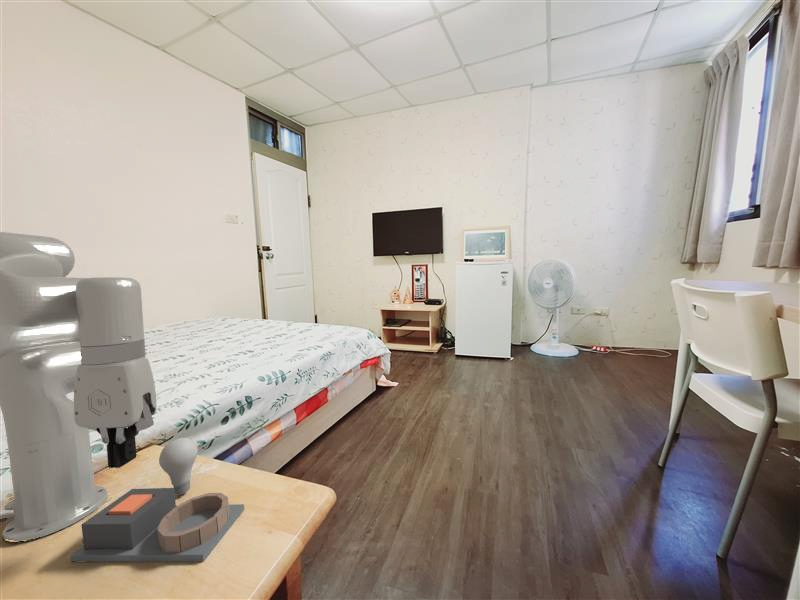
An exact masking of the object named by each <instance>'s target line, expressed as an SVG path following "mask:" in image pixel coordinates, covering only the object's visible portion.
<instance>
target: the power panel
mask: <svg viewBox="0 0 800 600" xmlns="http://www.w3.org/2000/svg"><path fill="white" fill-rule="evenodd" d="M144 494H152V498H151V499H150V500H149V501H148V502H146V503H145V504H144V505H142V506H141V507H140V508H139V509H137V510H136V511H135V512H133V513H132V514H131V515H109V513H108V511H110V510H111V509H112V508H114V507H115V506H117V505H118V504H119V503H121V502H122V501H124V500H125V499H126V498H128V497H129V496H131V495H144ZM244 511H245V505H244V504H243V503H242V504H239V503H238V504H237V503H235V504H229V497H228V496H226V495H225V494H224V493H222V492H208V493H203V494H200V495H197V496H195V497H191V498H188V499H187V500H185V501H183V502H181V503H180V504H178V505H177V503H176V494H175V492H174V487H158V488H157V487H154V488H153V487H152V488H151V487H149V488H131V489H130V490H128V491H127V492H125V493H124V494H122V495H121V496H120V497H119V498H117V499H116V500H114V501H112V502H111V503H110V504H109V505H107V506H106V507H104V508H103V509H101V510H100V511H99V512H97V513H95V514H94V515H93V516H91V517H90V518H88V519H87V520H86V521H84V522H82V523H81V525H80V526H81V531H82V543H83V545H82V546H81V547H80V548H78V549H77V550H76V551H75V552H73V553H72V554H71V555H70V562H71V561H77V562H76V563H80V562H79V561H94V562H93V563H107V562H108V563H121V562H122V563H123V562H124V563H129V562H130V563H131V562H135V563H137V562H139V563H141V562H146V563H147V562H153V563H154V562H156V563H157V562H204V561H206V559H207V558H208V556H209V555H210V554H211V552H212V551H214V549H215V548H216V546H217V545H218V544H219V543H220V541H221V540H222V539H223V537H224V536H225V535H226V533H228V531H229V530H230V529H231V527H232V526H233V525H234V524H235V522H236V521H237V520H238V518H239V517H240V516H241V515H242V513H243V512H244Z"/></svg>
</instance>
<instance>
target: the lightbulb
mask: <svg viewBox="0 0 800 600" xmlns="http://www.w3.org/2000/svg"><path fill="white" fill-rule="evenodd" d="M198 452H199V448H198V445H197V443H196V442H195V441H194V440H193V439H191V438H187V437H181V438H180V437H179V438H175V439H173V440H172V441H170V442H169V443H168V444H166V445H165V446H164V447H163V449H162V450H161V452H160V455H159V458H158V464H159V465H160V468H161V469H162V470H163V471H164V472H165V473H166V474H167V475H168V477H169V479H170V481H171V485H172V486H173V487H172V488H174V492H175V496H184V495H185V494H186V493H187V492H188V491H190V489H191V478H192V468H193V466H194V463H195V461H196V459H197V456H198Z"/></svg>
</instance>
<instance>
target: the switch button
mask: <svg viewBox="0 0 800 600" xmlns="http://www.w3.org/2000/svg"><path fill="white" fill-rule="evenodd" d="M151 498H152V494H144V495H131V496H129V497H128V498H126V499H125V500H124V501H122V502H121V503H119V504H118V505H117V506H115V507H114V508H112V509H111V510H110V511H108V513H109V515H131V514H132V513H133V512H135V511H136V510H137V509H139V508H140V507H141V506H142V505H144V504H145V503H146V502H148V501H149V500H150V499H151Z"/></svg>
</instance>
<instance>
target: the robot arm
mask: <svg viewBox="0 0 800 600" xmlns="http://www.w3.org/2000/svg"><path fill="white" fill-rule="evenodd" d="M75 259H76V258H75V254H74V252H73V250H72V248H71V247H70V246H69V245H68V244H67V243H66V242H65V241H63V240H61V239H59V238H54V237H52V236H51V237H49V236H43V235H32V234H24V233H14V232H7V231H4V232H3V231H0V411H1V413H2V418H3V422H4V427H5V433H6V434H5V437H6V442H7V443H6V444H7V450H8V455H9V457H8V459H9V465H10V472H11V473H10V474H11V481H12V490H13V499H14V500H12V501H9V502H7V503H6V504H5V505H4V508H3V509H4V510H5V511H13V517H14V518H13V519H12V520H11V521H10V522H9V523H7V524H6V526H5V527H4V529H3V531H2V533H1V535H2V538H3V537H4V538H5V539H8V540H14V541H23V540H29V539H33V540H36V538H37V539H39V537H40V538H42V537H45V536H48V535H51V534H53V533H57V532H58V531H60V530H63V529H65V528H68V527H70V526H71V525H73V524H75V523H77V522H79V521H80V520H82V519H84V518H86V517H87V516H89V515H91V514H92V513H94V512H95V511H96V510H97V509H98V508H100V506H102V505H103V504H104V502H105V501H106V500H107V499H108V498H107V497H108V491H107V489H106V488H105V487H103V486H96V483H95V475H94V465H93V457H92V456H93V455H92V447H91V446H92V445H91V438H90V437H91V436H90V430H91V431H93V432H97V433H99V435H100V436H101V441H102V443H103V444H105V445H106V456H107V457H106V458H107V467H108V468H109V469H114V468H115V469H121V468H122V467H124V466H125V465H127V464H128V463H130V462H132V461H133V460H135V459H136V458H137V445H136V436H138V435H139V433H140V431H143V430H147V429H149V428H150V427H153V426H154V424H155V423H154V418H153V416H154V415H155V414H156V412H157V394H156V393H157V392H156V386H155V379H154V375H153V372H152V367H151V365H150V362H149V359H148V358H147V357H146V343H145V331H144V329H145V328H144V317H143V316H144V315H143V298H142V288H141V285H140V282H139V281H137V280H136V279H134V278H131V277H114V276H113V277H109V276H108V277H104V276H103V277H89V278H88V277H67V276H68V275H69V274H70V273H71V272H72V271H73V269H74V266H75V264H76V263H75V261H76V260H75ZM70 393H73V400H71V399H70V398H69V397H67V395H68V394H70ZM29 541H30V540H29Z"/></svg>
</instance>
